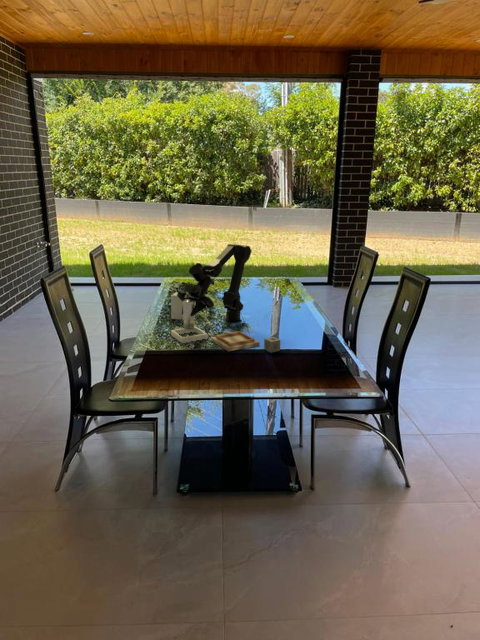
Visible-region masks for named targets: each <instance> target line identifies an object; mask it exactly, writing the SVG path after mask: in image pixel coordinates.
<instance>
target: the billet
mask: <svg viewBox="0 0 480 640" xmlns="http://www.w3.org/2000/svg"><path fill="white" fill-rule="evenodd" d="M194 307H195V301H194V300H190V299H188V300H183V320H182V321H183V328H184V329H186V330H191V329H194V327H195V315H194V316H192V317H191V316H190V315H191V312H192V310H193V308H194Z"/></svg>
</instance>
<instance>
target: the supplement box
mask: <svg viewBox="0 0 480 640" xmlns="http://www.w3.org/2000/svg"><path fill="white" fill-rule="evenodd" d="M186 293H187V294H188V295H189V292H186ZM177 294H178V292H174V293H172V294H171V295H170V305H171V306H170V309H171V310H170V312H171V318H170V319H172V320H181V319H182V321H183V314H182V308H183V302H182V301H181V300H180V299H179V298H178V296H177Z"/></svg>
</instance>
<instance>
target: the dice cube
mask: <svg viewBox="0 0 480 640" xmlns="http://www.w3.org/2000/svg"><path fill="white" fill-rule="evenodd" d="M263 340H264V343H263V344H264V345H263V349H264V350H265V351H267V352H268V353H275V352H276V353H277V352H280V351H281V339H279V338H277V337H275V336H271V337H266V338H264V339H263Z"/></svg>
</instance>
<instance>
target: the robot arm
mask: <svg viewBox="0 0 480 640" xmlns="http://www.w3.org/2000/svg"><path fill="white" fill-rule="evenodd" d="M251 254H252V249H251V247H250V246H249V245H245V244H237V243H228V244H227V246H226V247H225V248H224V249H223V250H222V251H221V252H220V253H219V255H218V256H217V257H215V259H213V260H210V261H208V262H206V264H204V266H203V265H202V263H200V262H196V264H194V265H192V266H191V267H190V268H189V269H188V273H189V275H190V276H191V277H192V278H193V279H194V281H196V282H197V283H196V284H188V283H186V284H184V285H185V286H184V289H183V291H178V292H177V293H178V294H177V296H178V298H179V299H180V300H181V301H182V302H183V300H188V299H190V300H194V308H193V310H192V312H191V315H190V316H191V317H192V316H194V317H195V315H197V314H198V313H199V312H201V311H203V310H205V309H207V308H208V309H213V307H214V305H215V302H214V301H213V300H212V298H210V296H209V297H208V296H205V295H208V294H209V292H208V290H209V288H210V287H211V285H212V286H214V285H215V281H214V280H215V279H214V278H217V277H218V276H220V274H221V272H222V271H223V267H224V265H225V264H226V263H227V262H228V261H229V260H230V259H231V258H232V257H233V259H234V266H233V270H232V275H231V280H230V283H229V288H228V290H225V291H224V292H223V297H222V304H223V308H224V309H226V312H225V321H227V322H229V323H232V324H233V323H238V322H242V320H243V319H241V311H242V310H244V304H243V302H241V295H240V286H241V283H242V278H243V274H244V269H245V265H246V263H247V262H248V261H249V259H250V258H251ZM211 277H213V278H211ZM187 293H188V294H187ZM182 314H183V308H182Z"/></svg>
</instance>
